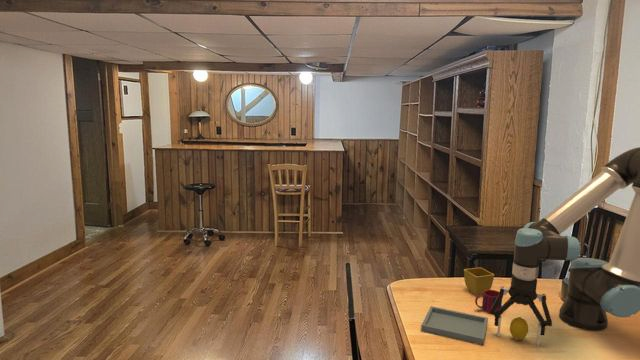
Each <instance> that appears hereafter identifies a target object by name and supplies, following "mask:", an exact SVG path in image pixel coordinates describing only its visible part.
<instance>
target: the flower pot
mask: <svg viewBox="0 0 640 360" xmlns="http://www.w3.org/2000/svg"><path fill="white" fill-rule="evenodd" d="M463 276H464V278H463V279H464V284H465V287H466V288H467V290H468V291H469V292H470V293H472V294H474V295H475V296H478V295H483V292H484V291H485V290H492V287H493V282H494V278H495V274H494V273H492V272H490V271H488V270H486V269H485V268H483V267H472V268H464V269H463Z"/></svg>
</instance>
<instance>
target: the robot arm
mask: <svg viewBox="0 0 640 360" xmlns="http://www.w3.org/2000/svg"><path fill="white" fill-rule="evenodd" d="M631 184H632V185H631ZM630 185H631V188H632V190H633V191H634V196H633V198H632V202H631V204H630V206H629V209H628V212H627V215H626V217H625V219H624V223H623V225H622V228H621V230H620V233H619V236H618V239H617V242H616V243H615V246H614V249H613V251H612V255H611V257H610V260H609V261H606V260H603V259H598V258H591V257H580V255H581V250H582V246H581V243H580V241H579V239H578V238H577V237H575V236H569V235H563V236H562V235H561V234H562V233H564V232H565V231H567V230H568V228H570V227H571V226H573V225H574V224H575V223H577V222H578V221H580V219H582V218H583V217H585V216H586V215H587V214H588V213H589V212H591V211H592V210H593V209H595V208H596V207H597V206H599V205H600V204H601V203H602V202H604V201H605V200H606V199H608V198H609V197H610V196H612V195H613V194H614V193H615V192H617V191H618V190H619V189H623V190H624V189H626V188H627V187H628V186H630ZM540 260H541V261H542V260H544V261H546V260H547V261H564V262H565V261H571V263H570V266H569V274H568V275H569V276H568V286H567V291H566V293H567V294H566V297H565V300H563V303H562V305H561V306H560V308H559V313H558V315H559V319H560V320H561V321H562V322H564V323H565V324H567V325H569V326H571V327H573V328H576V329H579V330H580V329H581V330H586V331H593V332H600V331H604V330H606V329H608V324H609V323H608V322H609V320H608V315H607V313H608V314H610V315H611V316H614V317H616V318H627V317H628V318H630V317H631V316H633V315H634V316H635V315H636V314H637V313H639V312H640V146H639V147H634V148H632V149H627V150H626V151H624V152H622V153H620V154H619V155H617V156H615V157H614V158H613V159H611V160H610V161H608V162H607V163H606V164H605V165H603V166H602V167H601V168H600V173H598V174H597V175H596V176H594V177H593V178H591V180H589V181H588V182H587V183H585V184H584V185H582V187H581V188H579V189H578V190H577V191H576V192H574V193H573V194H572V195H570V196H569V197H568V198H566V199H565V200H564V201H563V202H561V203H560V204H559V205H558V206H556V207H555V208H554V209H553V210H552V211H550V212H549V213H547V214H546V215H545V216H544V217H543V218H541V219H540V220H538V221H531V222H528V223H526V224H525V225H524V226H523V228H519V229H518V230H517V232H516V235H515V241H514V252H513V262H512V269H511V270H512V271H511V273H512V275H511V280H510V287H509V288H505V287H504V286H500V287H499V292H500V293H499V295H498V297H497V298H496V300H495V302H494V303H493V305H492V307H491V309H490V315H492V316H494V322H493V323H494V326H495V327H497V331H496V337H498V338H500V335H501V324H502V315H503V314H504V313H505V312H506V311H507V310H508V309H509V308H510V307H511V306H513V304H515V303H516V304H517V305H523V306H528V307H529V308H530V309H531V311H532V313H533V314H534V315H535V317H536V319H537V320H538V324H537V331H536V333H537V334H536V340H535V341H536V346H537V347H538V346H540V340H541V336H543V337H544V336H545V334H546V333H545V331H546V327H552V326H553V321H552V318H551V315H550V310H549V308H548V304H547V295H546V293H542V294H541V293H540V294H539V293H537V285H538V279H537V278H538V277H539V267H540V262H541V261H540ZM507 294H509V296H510V297H509V298H508V299H507V301H506V302H504V304H503V303H502V306H501V307H500V308H499V309H498V310H497V311H495V310H496V308H497V307H498V305H499V303H500V301H501V300H502V301H503V297H504V296H506V295H507ZM536 299H538V302H539V303H540V302H541V307H542V310H543V313H544V317H545V318H544V317H543V315H542V314H541V311H540V310H539V309H538V307H537V306H536V304H535V302H534V301H535V300H536Z"/></svg>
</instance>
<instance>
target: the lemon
mask: <svg viewBox="0 0 640 360" xmlns="http://www.w3.org/2000/svg"><path fill="white" fill-rule="evenodd" d="M509 324H510V325H509V333H510V334H511V336H512V337H513V338H515V339H516V340H517V341H519V340H523V339H525V338H526V337H527V335H528V333H529V325H528V322H527V321H526V320H525V319H524V318H523V317H521V316H519V317H515V318H514V317H513V319H512V320H511V322H510V323H509Z"/></svg>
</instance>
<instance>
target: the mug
mask: <svg viewBox="0 0 640 360" xmlns="http://www.w3.org/2000/svg"><path fill="white" fill-rule="evenodd" d="M499 293H500V291H498V290H494V289H490V290H485V291H484V292H483V294H482V295H476V297H475V299H474V303H475V305H476V306H477V308H479V309H482V312H485V313H487V314H490V309H491V307H492V305H493V303H494V302H495V300H496V298H497V297H498V295H499ZM480 297H481V298H482V304H481V306H480V305H478V299H479V298H480ZM502 302H503V299H502V300H501V301H500V303H499V305H498V307H497V308H496V310H495V311H497V310H498V309H499V308H500V307H501V306H502V305H503V303H502ZM490 315H491V314H490Z"/></svg>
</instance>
